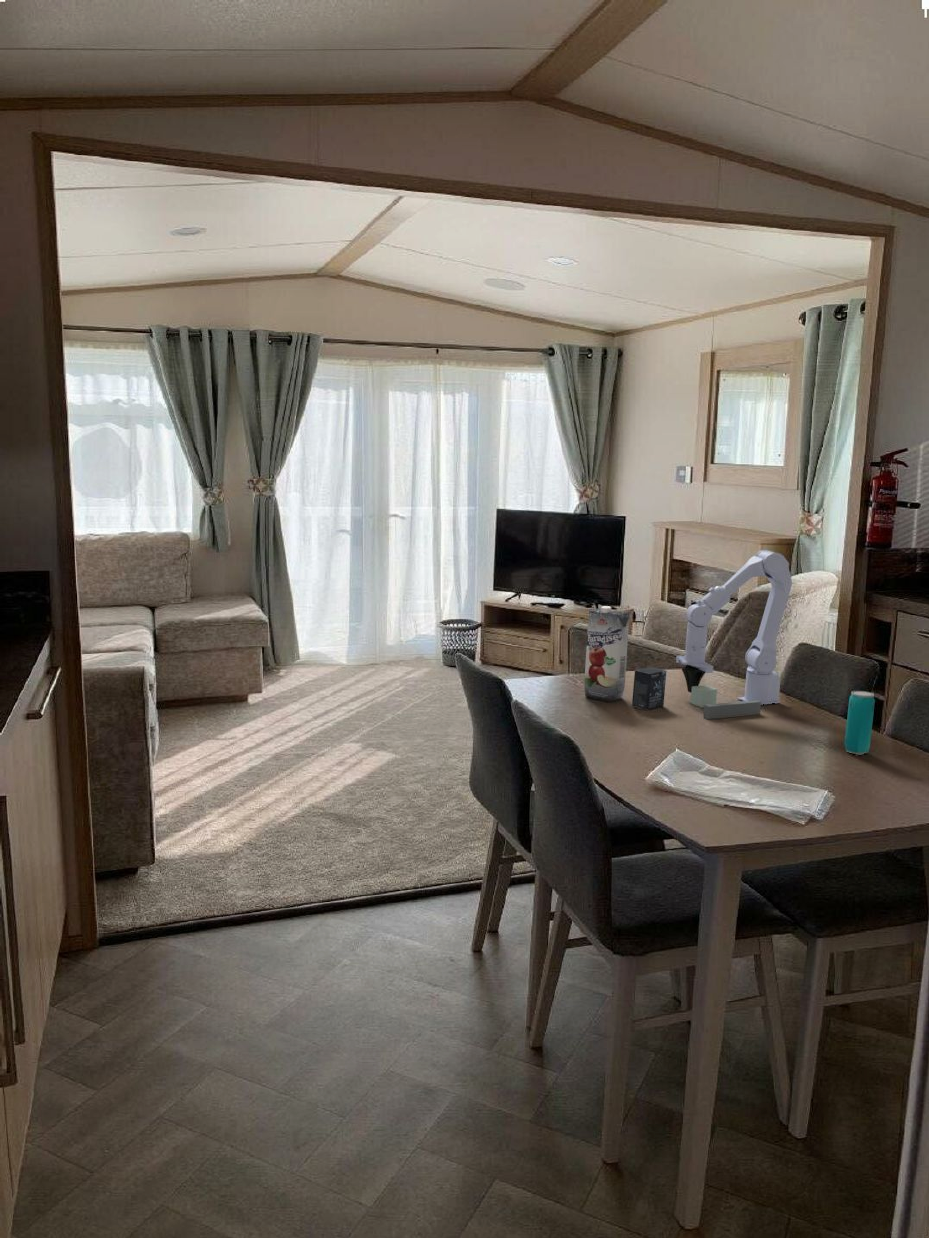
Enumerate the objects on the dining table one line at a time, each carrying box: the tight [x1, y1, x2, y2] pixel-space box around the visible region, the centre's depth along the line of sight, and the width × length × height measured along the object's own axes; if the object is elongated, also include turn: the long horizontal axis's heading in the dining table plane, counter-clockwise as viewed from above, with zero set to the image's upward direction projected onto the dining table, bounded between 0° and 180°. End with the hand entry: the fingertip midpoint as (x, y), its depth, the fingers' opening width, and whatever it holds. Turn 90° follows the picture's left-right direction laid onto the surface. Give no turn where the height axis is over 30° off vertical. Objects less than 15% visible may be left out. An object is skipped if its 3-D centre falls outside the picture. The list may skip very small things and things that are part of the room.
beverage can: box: [844, 690, 876, 754], centre depth 240 cm, size 6×6×15 cm
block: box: [690, 684, 718, 708], centre depth 283 cm, size 5×5×5 cm
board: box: [702, 700, 762, 720], centre depth 272 cm, size 18×2×4 cm, turn 115°
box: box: [631, 666, 667, 711], centre depth 278 cm, size 8×6×11 cm
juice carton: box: [583, 605, 630, 703], centre depth 284 cm, size 9×10×27 cm
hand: (692, 691), depth 288 cm, fingers closed
